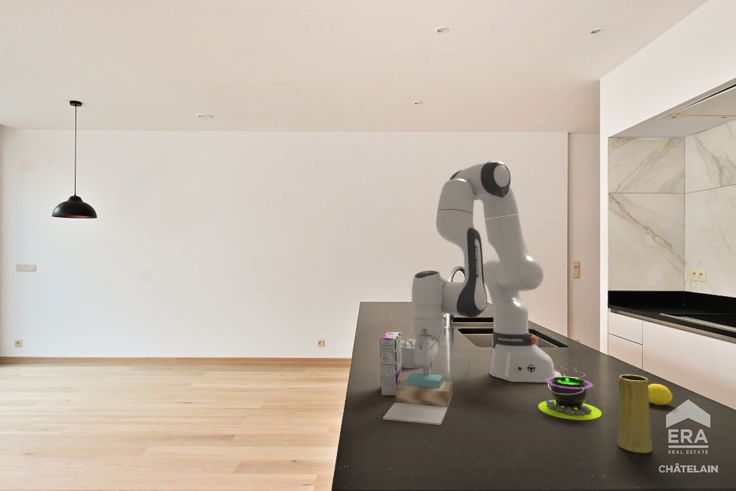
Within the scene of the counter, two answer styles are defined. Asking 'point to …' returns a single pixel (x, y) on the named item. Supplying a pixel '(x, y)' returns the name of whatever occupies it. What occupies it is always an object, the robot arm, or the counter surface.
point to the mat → (416, 413)
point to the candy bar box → (390, 362)
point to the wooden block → (424, 394)
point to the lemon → (659, 394)
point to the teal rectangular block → (425, 380)
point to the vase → (634, 414)
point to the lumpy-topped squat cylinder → (408, 353)
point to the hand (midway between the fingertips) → (427, 375)
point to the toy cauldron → (569, 399)
